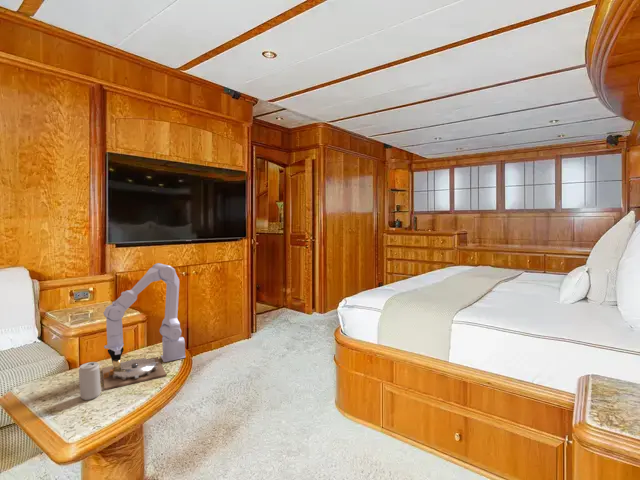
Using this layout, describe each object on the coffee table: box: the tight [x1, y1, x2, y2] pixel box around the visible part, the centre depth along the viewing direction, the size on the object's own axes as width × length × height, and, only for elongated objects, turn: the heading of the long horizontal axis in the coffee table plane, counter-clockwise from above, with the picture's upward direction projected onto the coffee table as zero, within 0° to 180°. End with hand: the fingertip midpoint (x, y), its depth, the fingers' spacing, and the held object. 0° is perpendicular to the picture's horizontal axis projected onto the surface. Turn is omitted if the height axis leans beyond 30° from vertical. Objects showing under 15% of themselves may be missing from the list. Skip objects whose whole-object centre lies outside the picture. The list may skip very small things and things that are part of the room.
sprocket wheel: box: [110, 357, 159, 380], centre depth 154 cm, size 18×18×6 cm
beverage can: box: [78, 361, 102, 401], centre depth 134 cm, size 6×6×12 cm
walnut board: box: [101, 356, 167, 391], centre depth 154 cm, size 22×21×2 cm
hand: (116, 365), depth 152 cm, fingers closed
